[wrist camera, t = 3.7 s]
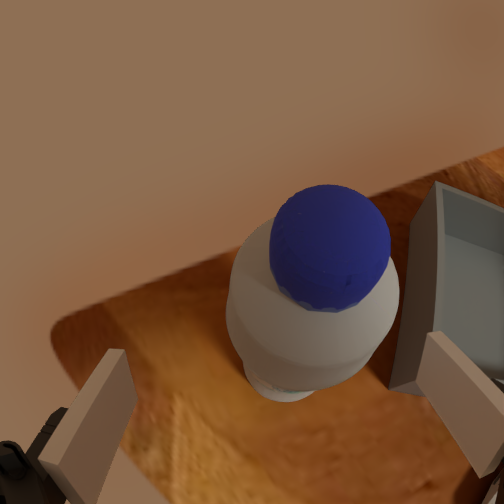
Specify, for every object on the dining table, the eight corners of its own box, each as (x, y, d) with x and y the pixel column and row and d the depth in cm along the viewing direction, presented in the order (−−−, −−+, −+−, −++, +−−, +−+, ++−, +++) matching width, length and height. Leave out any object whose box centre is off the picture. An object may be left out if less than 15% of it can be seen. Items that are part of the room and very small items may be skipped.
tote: (525, 265, 29) (557, 234, 23) (524, 409, 20) (570, 396, 14) (409, 223, 32) (435, 180, 26) (388, 389, 23) (426, 376, 17)
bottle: (233, 337, 26) (186, 151, 9) (311, 318, 27) (388, 124, 10) (253, 415, 23) (234, 398, 6) (334, 392, 24) (496, 304, 6)
